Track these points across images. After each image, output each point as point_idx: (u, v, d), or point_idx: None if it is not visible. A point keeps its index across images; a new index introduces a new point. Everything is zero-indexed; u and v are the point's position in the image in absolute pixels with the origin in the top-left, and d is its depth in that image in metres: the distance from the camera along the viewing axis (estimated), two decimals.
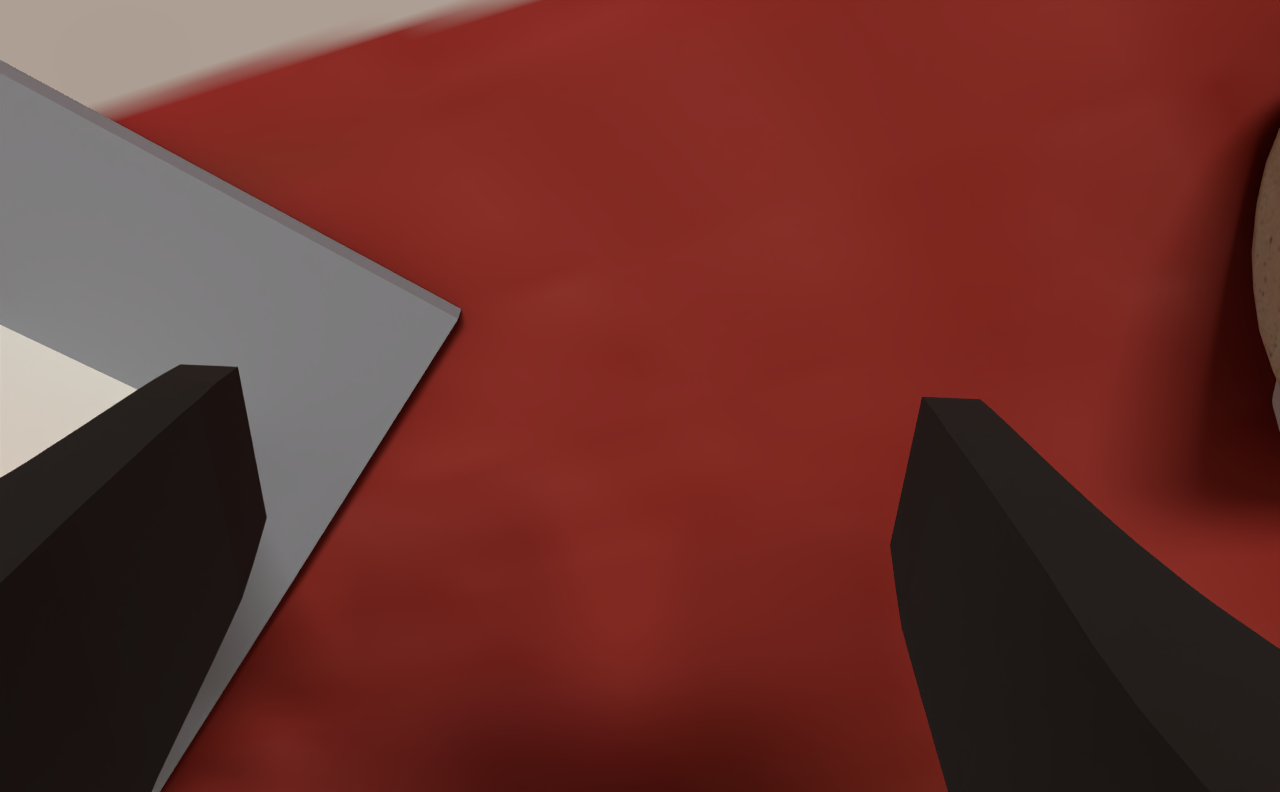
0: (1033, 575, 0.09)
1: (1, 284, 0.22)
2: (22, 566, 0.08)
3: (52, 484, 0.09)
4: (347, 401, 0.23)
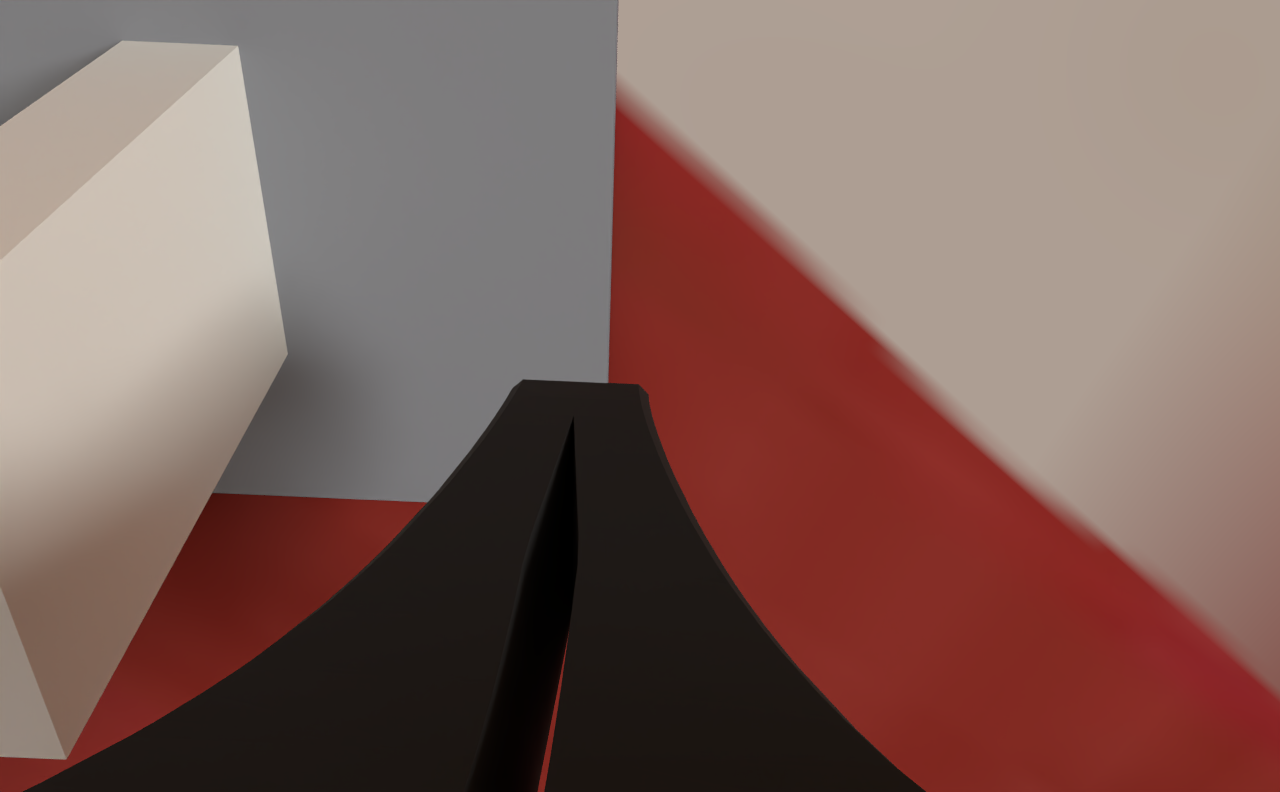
0: (578, 555, 0.09)
1: (306, 51, 0.15)
2: (518, 587, 0.08)
3: (492, 503, 0.09)
4: (428, 456, 0.19)
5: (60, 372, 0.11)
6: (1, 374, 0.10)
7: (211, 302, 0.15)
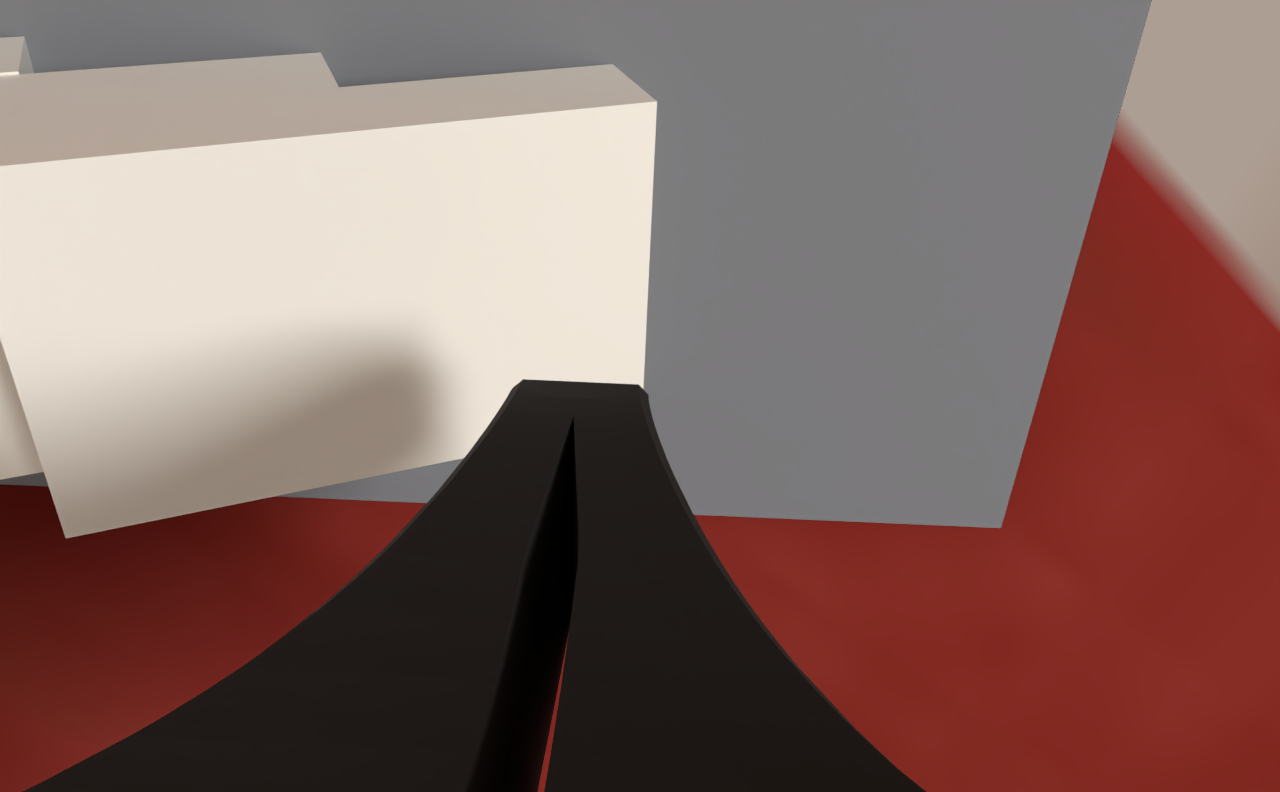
0: (578, 556, 0.09)
1: (818, 75, 0.15)
2: (517, 587, 0.08)
3: (492, 503, 0.09)
4: (838, 474, 0.19)
5: (162, 270, 0.13)
6: (69, 239, 0.12)
7: (479, 315, 0.15)
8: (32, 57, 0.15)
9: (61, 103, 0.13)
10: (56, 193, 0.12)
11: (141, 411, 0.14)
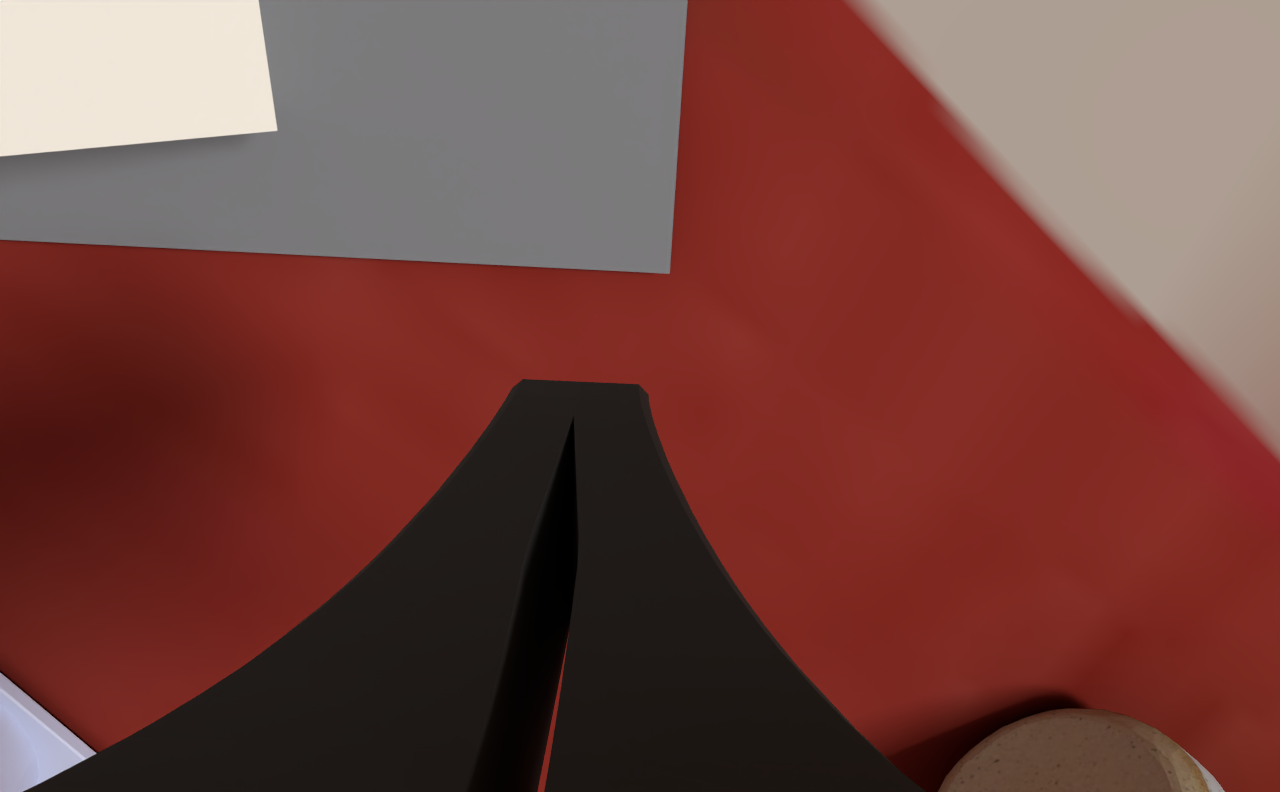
0: (578, 555, 0.08)
1: None
2: (517, 587, 0.08)
3: (492, 503, 0.09)
4: (505, 214, 0.20)
5: None
6: None
7: None
8: None
9: None
10: None
11: None
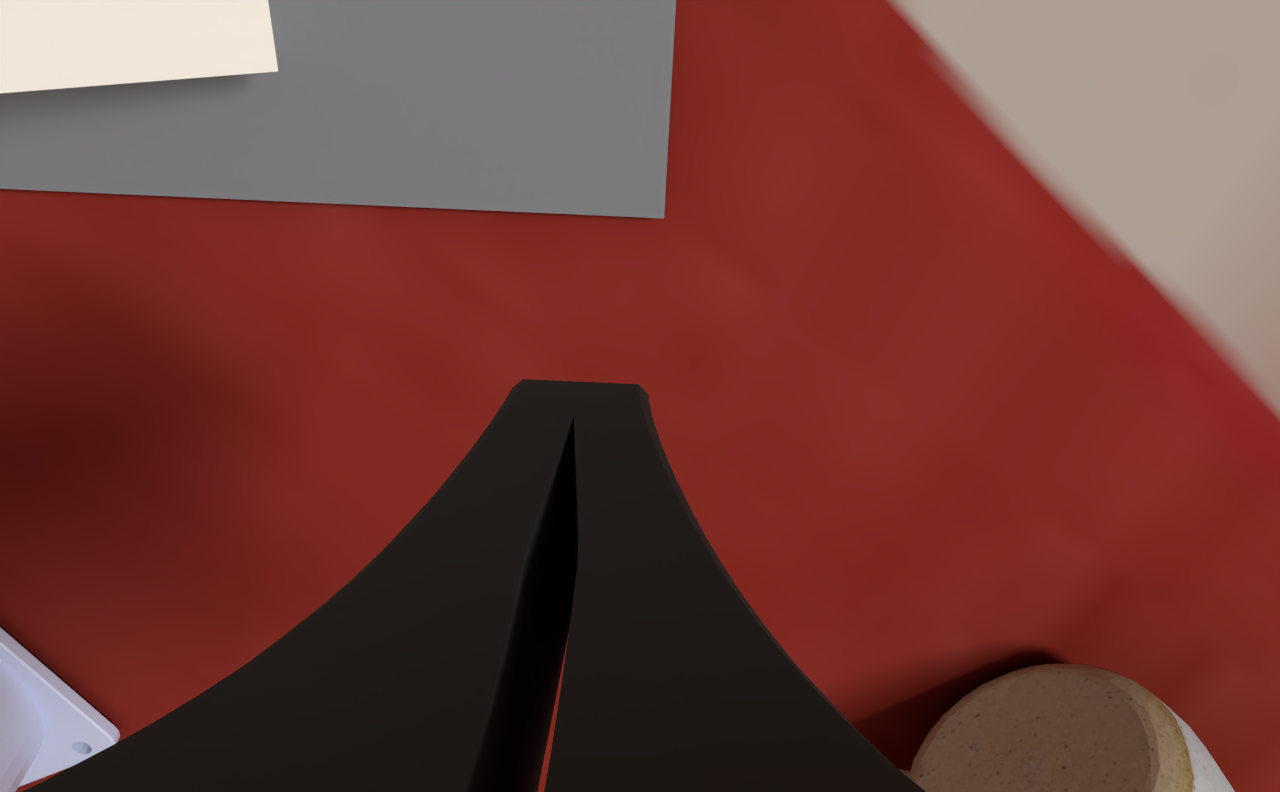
0: (578, 556, 0.09)
1: None
2: (518, 588, 0.08)
3: (492, 503, 0.09)
4: (502, 159, 0.21)
5: None
6: None
7: None
8: None
9: None
10: None
11: None
